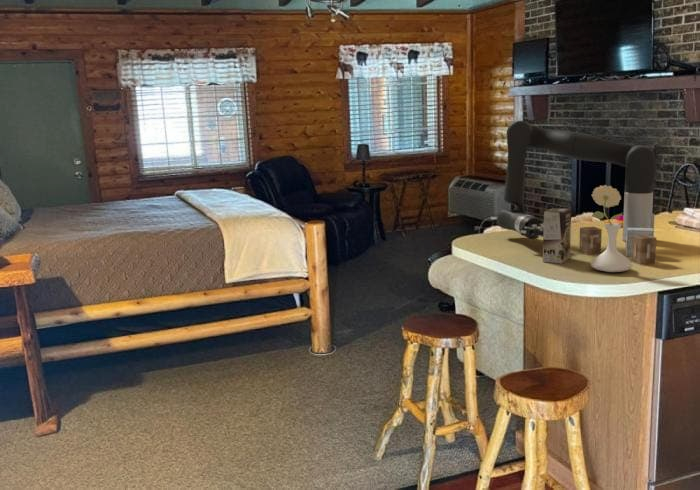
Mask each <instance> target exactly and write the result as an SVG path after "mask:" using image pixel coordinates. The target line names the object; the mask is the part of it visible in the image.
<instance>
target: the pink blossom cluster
mask: <svg viewBox="0 0 700 490" xmlns="http://www.w3.org/2000/svg"><path fill="white" fill-rule="evenodd" d="M623 218H624V214H621V215H620V216H619V217H617V218H615V219H612V220H610V219H609V220H610V222H611V223H620V224H622V226H621V227H620V228H623ZM605 223H609V221H608V219H605V220H604V221H603V225H604V224H605Z"/></svg>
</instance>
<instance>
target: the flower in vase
mask: <svg viewBox="0 0 700 490" xmlns="http://www.w3.org/2000/svg"><path fill="white" fill-rule="evenodd" d="M591 197H592V199H593V201H594V202H595V204H597V205H598V206H603V212H601V211H599V210H598V211H595V212H594V213H593V214H591V218H596V219H600V220H602V219H604V217H605V218H606V220H608V221H609V223H605V224H604V223H603V226H604V227H605V229H606V232H607V233H606V234H607V239H608V240H607V247H606V249H605V250H604V251H603V252H601V253H599V254H598V255H597V256H596V257H595V258H593V259H592V260H591V262H590V266H591V267H592V268H593V269H594V270H598V271H601V272H606V273H620V272H626V271H628V270H631V269H632V268H633V264H632V261H631V260H629V259H628V257H627V256H626V255H623V254H622V253H621V252H620V251H619V250H618V248H617V238H618V232H619V230H620V229H621V228H622V227H621V226H622V224H620V223H611V222H610V220H612V219H616V218H617V217H619V216H620V215H623V214H624V211H623V212H621V213H618V214H615V215H613V216H611V218H610V219H609V217H608V216H607V213H606V208H611V207H615V206H618V205H619V203H620V202H621V201H620V200H622V196H621V194H620V191H618V189H617V188H613V187H612V185H608V186H607V184H604V185H599V186H598V187H595V188H594V189H593V191H592V194H591Z"/></svg>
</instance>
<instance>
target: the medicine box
mask: <svg viewBox="0 0 700 490" xmlns="http://www.w3.org/2000/svg"><path fill="white" fill-rule="evenodd" d="M636 235H649V236H652V237H655V229H654V230H653V229H652V228H627V230H626V241H625V257H631V245H632V236H636Z"/></svg>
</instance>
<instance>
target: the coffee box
mask: <svg viewBox="0 0 700 490" xmlns="http://www.w3.org/2000/svg"><path fill="white" fill-rule="evenodd" d="M543 224H544V231H543V237H542V239H543V240H542V241H543V243H542V262H544V263H551V264H552V263H553V264H563V263H565V262H566V261H568V260H569V259H571V237H572V236H571V231H572V228H571V227H572V208H567V207H566V208H564V207H563V208H561V207H560V208H556V207H555V208H554V207H552V208H549V209H547V210H544V211H543Z"/></svg>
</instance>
